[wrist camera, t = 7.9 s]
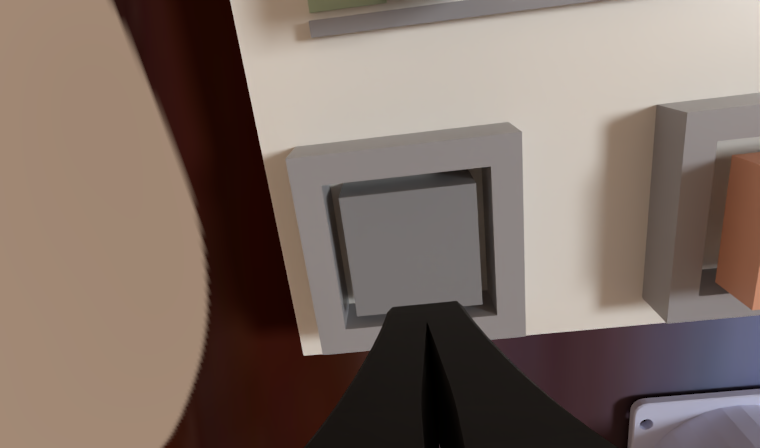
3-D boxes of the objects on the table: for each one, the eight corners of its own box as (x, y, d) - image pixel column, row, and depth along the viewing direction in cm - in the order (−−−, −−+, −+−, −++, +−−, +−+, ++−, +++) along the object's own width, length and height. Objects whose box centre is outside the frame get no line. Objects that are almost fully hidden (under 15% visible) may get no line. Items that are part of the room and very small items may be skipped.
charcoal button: (474, 280, 16) (482, 304, 14) (360, 291, 16) (357, 316, 14) (467, 168, 14) (475, 183, 13) (343, 182, 14) (338, 198, 13)
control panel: (806, 268, 18) (916, 330, 14) (314, 316, 19) (295, 385, 15) (923, -312, 12) (1157, -464, 9) (215, -198, 13) (147, -289, 10)
